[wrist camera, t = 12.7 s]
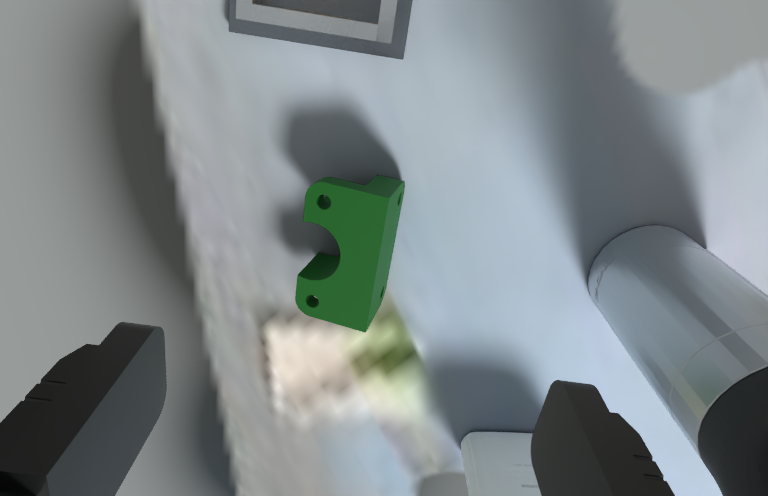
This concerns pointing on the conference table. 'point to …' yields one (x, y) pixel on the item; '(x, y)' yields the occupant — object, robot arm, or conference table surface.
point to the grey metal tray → (327, 23)
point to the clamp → (350, 249)
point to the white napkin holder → (499, 464)
